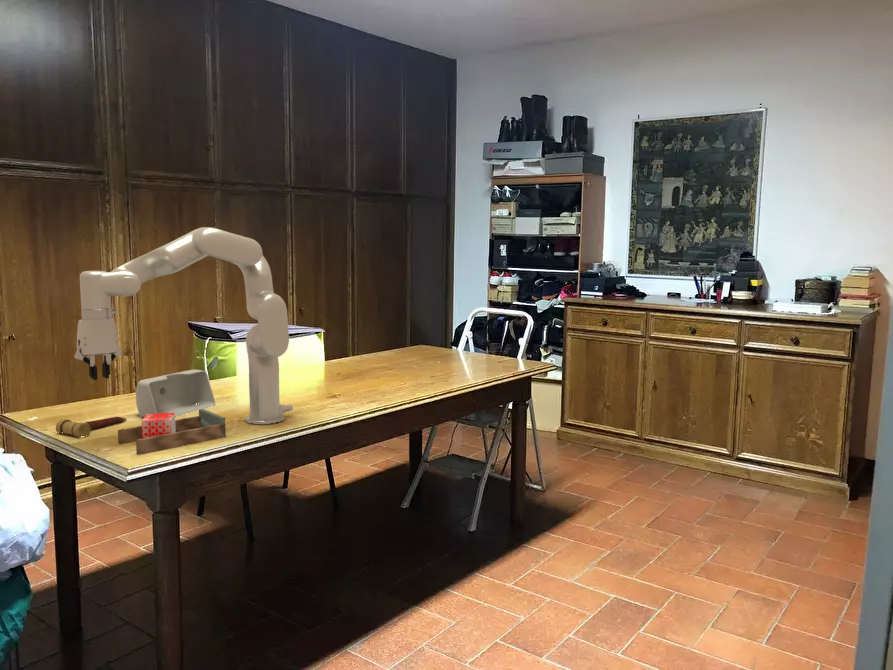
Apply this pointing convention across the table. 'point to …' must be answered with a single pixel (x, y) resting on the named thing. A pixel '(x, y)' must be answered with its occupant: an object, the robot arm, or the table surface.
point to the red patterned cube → (158, 424)
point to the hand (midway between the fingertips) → (100, 378)
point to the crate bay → (177, 433)
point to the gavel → (85, 425)
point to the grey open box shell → (174, 393)
